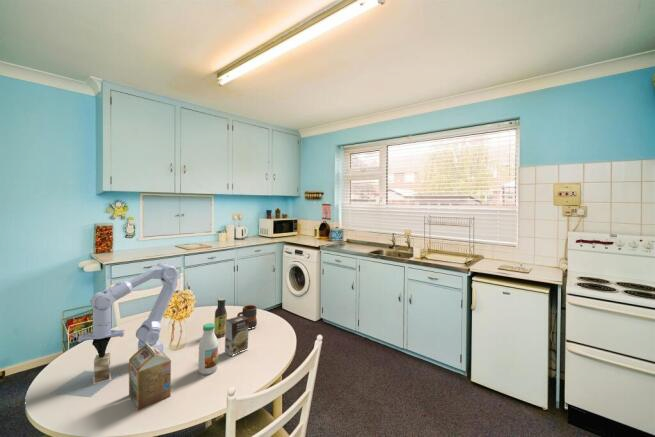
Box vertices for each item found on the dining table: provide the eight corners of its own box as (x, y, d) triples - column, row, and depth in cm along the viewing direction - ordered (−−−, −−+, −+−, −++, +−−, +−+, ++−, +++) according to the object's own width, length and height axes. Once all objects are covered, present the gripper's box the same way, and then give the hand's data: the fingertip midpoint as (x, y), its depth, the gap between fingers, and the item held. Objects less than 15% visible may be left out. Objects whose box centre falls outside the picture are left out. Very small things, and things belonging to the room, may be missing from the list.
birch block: (110, 363, 120) (110, 352, 120) (108, 369, 116) (108, 358, 116) (96, 365, 118) (96, 355, 117) (94, 371, 114) (93, 360, 114)
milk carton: (170, 396, 109) (170, 347, 108) (137, 410, 101) (138, 357, 100) (160, 383, 116) (160, 337, 115) (129, 396, 108) (129, 346, 107)
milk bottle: (197, 376, 122) (197, 329, 121) (199, 366, 129) (200, 321, 128) (216, 374, 124) (217, 328, 123) (218, 364, 131) (219, 320, 130)
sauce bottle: (218, 338, 155) (219, 302, 153) (211, 335, 158) (211, 299, 157) (228, 334, 160) (229, 298, 159) (221, 331, 163) (222, 296, 162)
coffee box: (231, 357, 138) (232, 323, 137) (224, 352, 142) (225, 319, 141) (248, 349, 145) (249, 318, 144) (240, 345, 149) (241, 314, 148)
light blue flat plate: (121, 374, 121) (121, 373, 121) (90, 398, 106) (90, 396, 106) (85, 371, 122) (85, 370, 122) (49, 394, 107) (49, 393, 107)
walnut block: (108, 373, 120) (108, 363, 120) (109, 379, 117) (109, 368, 117) (94, 377, 117) (94, 366, 117) (94, 383, 114) (94, 372, 114)
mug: (233, 328, 168) (233, 308, 167) (251, 322, 176) (252, 303, 176) (240, 333, 162) (240, 312, 161) (259, 327, 170) (260, 307, 170)
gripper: (126, 316, 122) (126, 348, 123) (82, 321, 117) (83, 354, 117) (121, 323, 116) (121, 356, 117) (75, 328, 110) (76, 363, 111)
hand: (102, 355), depth 117 cm, fingers closed
